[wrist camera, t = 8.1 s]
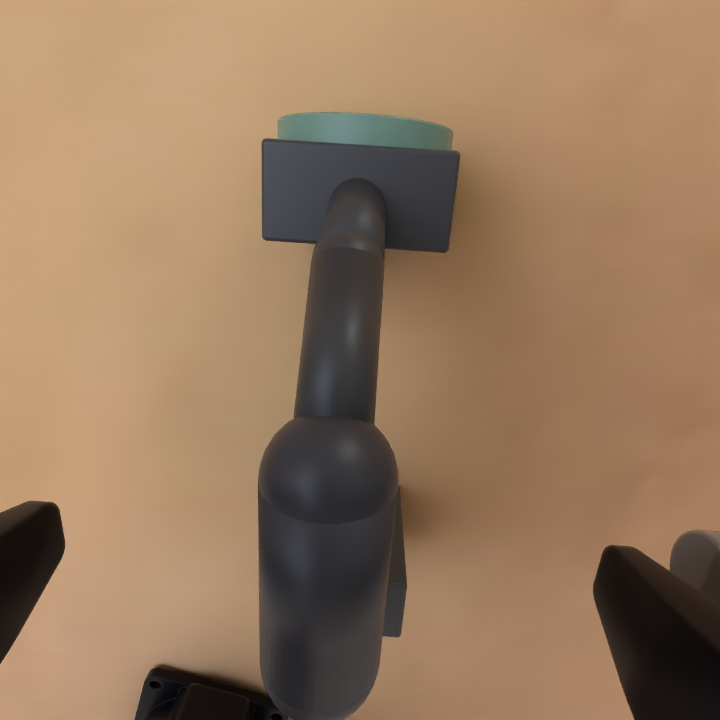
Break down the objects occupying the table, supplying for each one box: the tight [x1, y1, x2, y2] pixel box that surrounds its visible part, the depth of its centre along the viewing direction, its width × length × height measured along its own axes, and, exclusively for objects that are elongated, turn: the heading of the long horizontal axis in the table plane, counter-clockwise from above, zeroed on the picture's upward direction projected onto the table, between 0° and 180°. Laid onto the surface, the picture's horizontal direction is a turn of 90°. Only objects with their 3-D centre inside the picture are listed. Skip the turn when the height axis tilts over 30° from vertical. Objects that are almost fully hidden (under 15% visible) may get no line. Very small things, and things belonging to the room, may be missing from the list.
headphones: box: [258, 112, 460, 720], centre depth 11 cm, size 4×14×10 cm, turn 176°
